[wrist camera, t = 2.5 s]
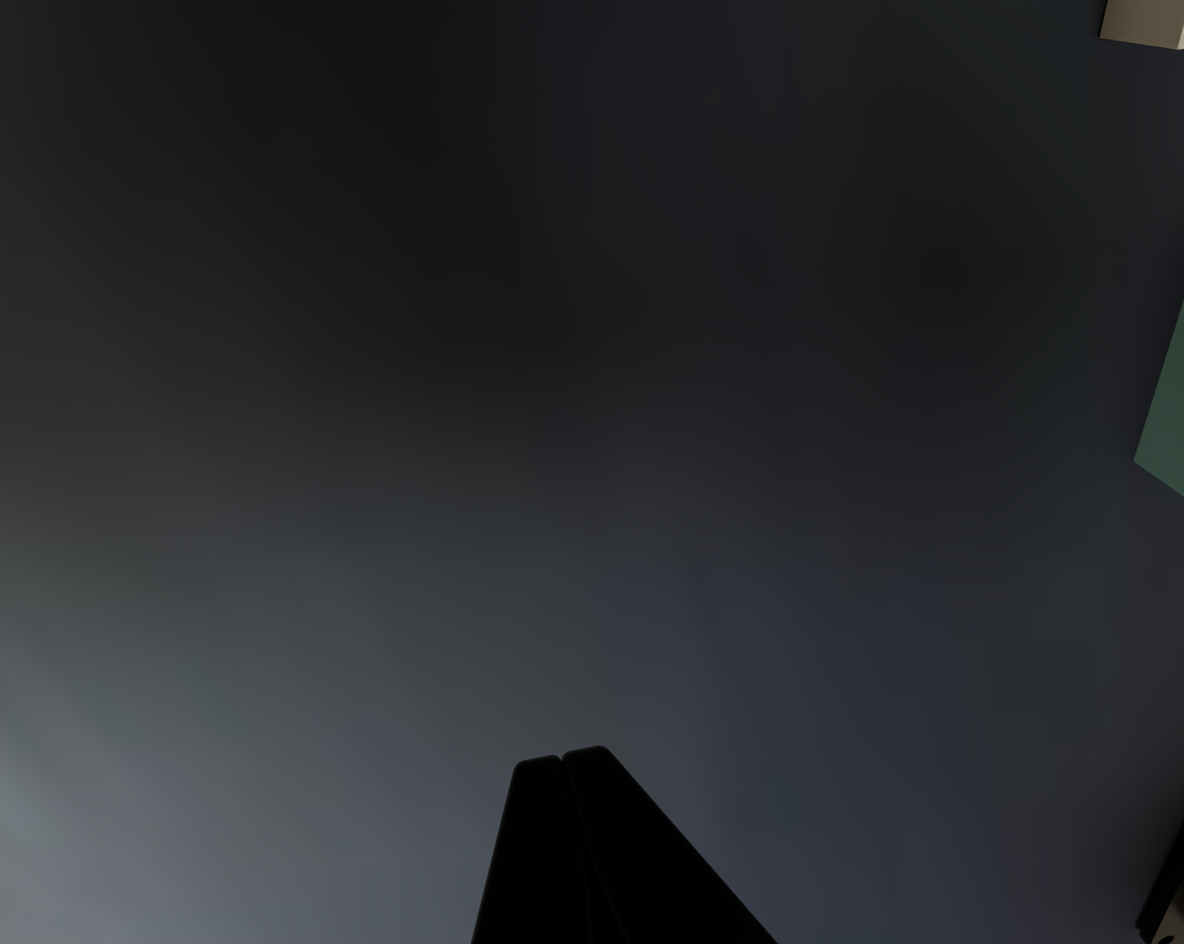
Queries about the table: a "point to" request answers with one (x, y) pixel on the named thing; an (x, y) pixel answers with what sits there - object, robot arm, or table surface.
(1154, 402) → the teal block
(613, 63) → the table surface
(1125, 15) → the tray
